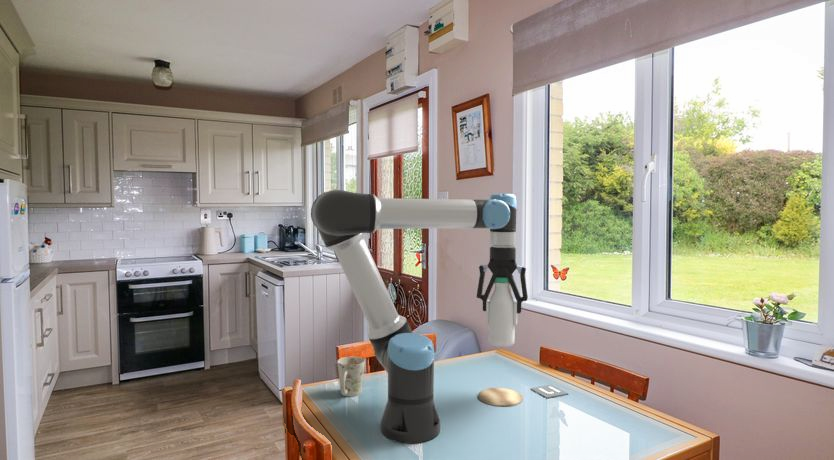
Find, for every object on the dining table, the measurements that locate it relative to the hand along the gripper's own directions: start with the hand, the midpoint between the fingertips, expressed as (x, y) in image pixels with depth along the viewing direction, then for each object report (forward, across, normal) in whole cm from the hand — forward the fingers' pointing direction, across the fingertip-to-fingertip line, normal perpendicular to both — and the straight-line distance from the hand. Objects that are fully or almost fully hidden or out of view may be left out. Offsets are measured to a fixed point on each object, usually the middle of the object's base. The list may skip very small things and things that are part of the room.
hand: (501, 323), depth 147 cm
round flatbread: (+23, 0, 0) cm, 23 cm away
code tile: (+23, -14, -9) cm, 28 cm away
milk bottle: (+6, 0, 0) cm, 6 cm away
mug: (+23, +44, +12) cm, 51 cm away
